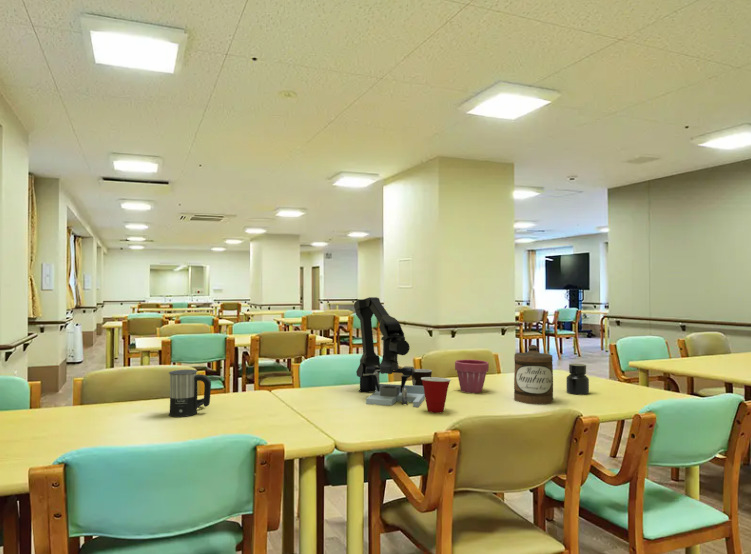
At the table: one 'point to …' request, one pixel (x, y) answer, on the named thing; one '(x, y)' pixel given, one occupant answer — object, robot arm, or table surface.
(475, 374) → the plant pot
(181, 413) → the milk frother
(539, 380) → the wooden container
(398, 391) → the square hollow frame
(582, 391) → the ink bottle
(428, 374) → the coffee mug
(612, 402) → the table surface
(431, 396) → the plastic cup
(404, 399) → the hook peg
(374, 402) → the grey walled base plate
